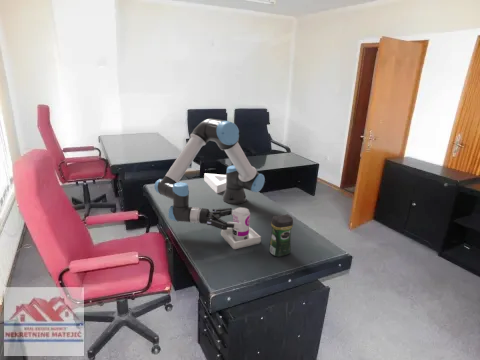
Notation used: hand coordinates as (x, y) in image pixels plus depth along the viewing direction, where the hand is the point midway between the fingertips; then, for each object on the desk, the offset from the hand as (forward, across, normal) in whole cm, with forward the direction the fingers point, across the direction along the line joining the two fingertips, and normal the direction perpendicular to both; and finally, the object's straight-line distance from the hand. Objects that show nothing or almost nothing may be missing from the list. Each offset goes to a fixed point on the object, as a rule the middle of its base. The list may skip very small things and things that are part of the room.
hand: (243, 219), depth 150 cm
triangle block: (-24, -73, -12) cm, 78 cm away
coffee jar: (+18, +8, -11) cm, 23 cm away
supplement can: (-1, 0, -10) cm, 10 cm away
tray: (-1, 0, -11) cm, 11 cm away
